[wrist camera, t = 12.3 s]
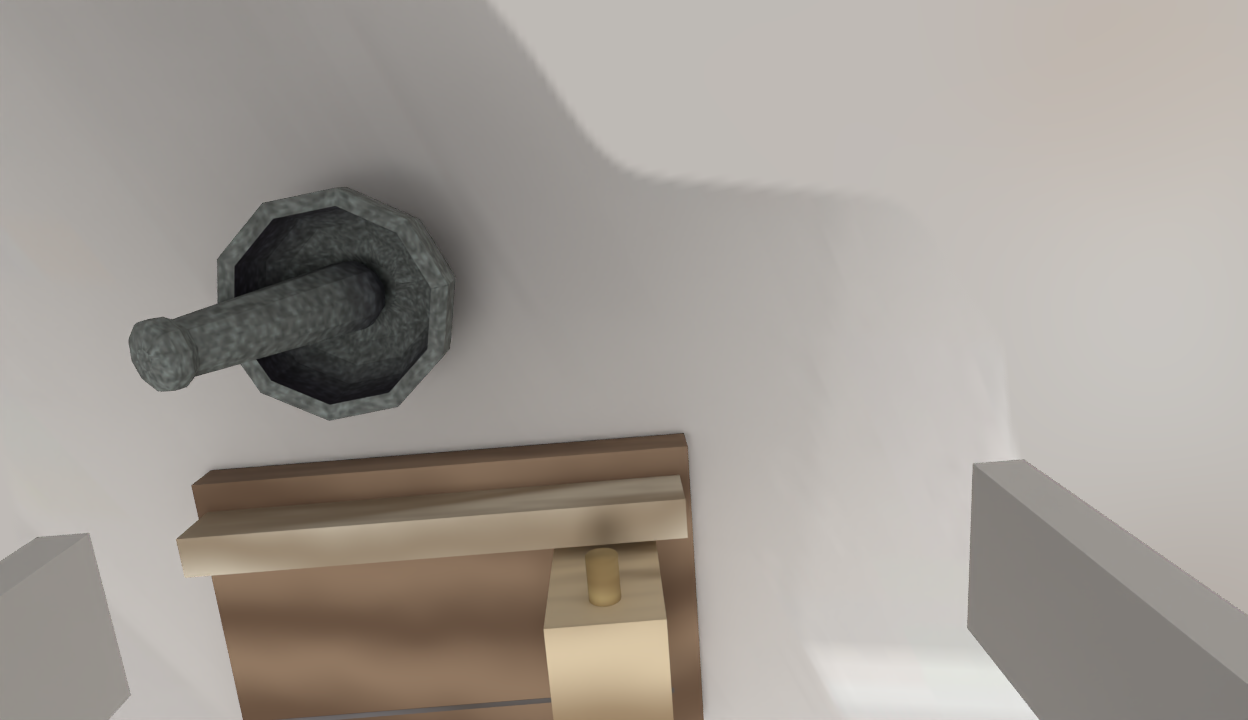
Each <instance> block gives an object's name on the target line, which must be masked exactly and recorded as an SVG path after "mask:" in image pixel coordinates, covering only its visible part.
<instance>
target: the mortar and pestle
mask: <svg viewBox="0 0 1248 720" xmlns="http://www.w3.org/2000/svg"><path fill="white" fill-rule="evenodd" d="M217 283H218V304H215V305H212V306H209V307H207V308H204V309H201V310H198V311H195V312H192V313H189V314H186V315H184V316H181V317H178V318H175V319H168V318H165V317H160V318H153V319H148V320H144V321H141V322H138V323H136V324H135V325H134V327H133V329H132V332H131V335H130V337H129V348H130V353H131V359H132V362H133V364H134V366H135V367H136V369H137V371H138V373H139V374H140V376H141V378H142V379H143V380H144V381H146V382H147V383H148V384H149V385H151V386H152V387H153V388H154V389H156V390H157V391H161V392H162V391H176V390H179V389H182V388H185V387H187V386H188V385H189V384H190V382H191V381H192V380H193V378H194V377H195V376H199V375H202V374H206V373H209V372H213V371H216V370H220V369H224V368H227V367H231V366H234V365H238V364H241V365H242V367H243V368H244V370H245V371H246V372H247V374H248V375H249V377H250V378H251V379H252V381H253V382H254V384H255V385H256V387H257V388H258V389H259V391H260V392H261V393H263V394H265V395H268V396H270V397H273V398H275V399H277V400H280V401H282V402H285V403H287V404H290V405H292V406H295V407H297V408H299V409H302V410H304V411H307V412H309V413H312V414H314V415H316V416H319V417H321V418H324V419H326V420H329V421H330V420H335V419H340V418H345V417H350V416H355V415H360V414H365V413H370V412H375V411H380V410H385V409H390V408H395V407H398V406H399V405H400V404H401V403H402V402H403V401H404V400H405V398H406V397H407V396H408V395H409V394H410V393H411V392H412V391H413V389H414V388H415V387H416V386H417V385H418V384H419V383H420V382H421V380H422V379H423V378H424V377H425V376H426V375H427V374H428V373H429V372H430V370H431V369H432V368H433V367H434V366H435V365H436V364H437V363H438V361H439V360H440V359H441V358H442V357H443V356H444V355H445V353H446V352H447V351H448V350H449V349H450V342H451V331H452V316H453V301H454V285H455V276H454V274H453V272H452V271H451V269H450V268H449V266H448V264H447V263H446V261H445V260H444V258H443V256H442V255H441V253H440V251H439V250H438V248H437V247H436V245H435V243H434V242H433V240H432V239H431V237H430V235H429V234H428V232H427V230H426V229H425V227H424V226H423V224H422V222H421V221H420V220H419V219H417V218H415V217H413V216H410V215H408V214H406V213H404V212H401V211H399V210H397V209H395V208H393V207H390V206H388V205H386V204H384V203H381V202H379V201H377V200H375V199H373V198H370V197H368V196H366V195H364V194H361V193H359V192H357V191H355V190H352V189H350V188H348V187H340V188H333V189H328V190H323V191H318V192H313V193H308V194H304V195H299V196H294V197H289V198H284V199H280V200H275V201H270V202H265V203H262V204H261V206H260V207H259V208H258V209H257V211H256V212H255V213H254V214H253V215H252V217H251V218H250V219H249V220H248V222H247V223H246V224H245V225H244V227H243V228H242V229H241V230H240V232H239V233H238V234H237V235H236V237H235V238H234V239H233V240H232V242H231V243H230V244H229V245H228V246H227V248H226V249H225V250H224V251H223V253H222V254H221V255H220V256H219V258H218V259H217Z"/></svg>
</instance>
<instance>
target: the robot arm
mask: <svg viewBox="0 0 1248 720" xmlns="http://www.w3.org/2000/svg"><path fill="white" fill-rule="evenodd" d="M967 628H968V630H969V631H970V632H971V633H972V635H973V636H974V637H975V638H976V640H977V641H978V642H979V644H980V645H981V646H982V647H983V649H984V650H985V651H986V652H987V654H988V655H989V656H990V657H991V659H992V660H993V661H994V663H995V664H996V665H997V666H998V668H999V669H1000V670H1001V671H1002V673H1003V674H1004V675H1005V677H1006V678H1007V679H1008V680H1009V682H1010V683H1011V684H1012V685H1013V687H1014V688H1015V689H1016V690H1017V692H1018V693H1019V694H1020V696H1021V697H1022V698H1023V699H1024V701H1025V702H1026V703H1027V704H1028V706H1029V707H1030V708H1031V710H1032V711H1033V712H1034V713H1035V715H1036V716H1037V717H1038V718H1039V720H1248V615H1247V614H1245V613H1244V612H1243V611H1241V610H1240V609H1238V608H1237V607H1235V606H1234V605H1232V604H1231V603H1230V602H1228V601H1227V600H1225V599H1224V598H1222V597H1221V596H1220V595H1218V594H1217V593H1215V592H1214V591H1212V590H1211V589H1210V588H1208V587H1207V586H1205V585H1204V584H1202V583H1201V582H1199V581H1198V580H1197V579H1195V578H1194V577H1192V576H1191V575H1189V574H1188V573H1187V572H1185V571H1184V570H1182V569H1181V568H1179V567H1178V566H1176V565H1175V564H1174V563H1172V562H1171V561H1169V560H1168V559H1166V558H1165V557H1163V556H1162V555H1161V554H1159V553H1158V552H1156V551H1155V550H1153V549H1152V548H1151V547H1149V546H1148V545H1146V544H1145V543H1143V542H1142V541H1140V540H1139V539H1138V538H1136V537H1135V536H1133V535H1132V534H1130V533H1129V532H1128V531H1126V530H1125V529H1123V528H1122V527H1120V526H1119V525H1118V524H1116V523H1115V522H1113V521H1112V520H1110V519H1109V518H1107V517H1106V516H1104V515H1103V514H1102V513H1100V512H1099V511H1097V510H1096V509H1094V508H1093V507H1092V506H1090V505H1089V504H1087V503H1086V502H1084V501H1083V500H1081V499H1080V498H1079V497H1077V496H1076V495H1074V494H1073V493H1071V492H1070V491H1069V490H1067V489H1066V488H1064V487H1063V486H1061V485H1060V484H1059V483H1057V482H1056V481H1054V480H1053V479H1051V478H1050V477H1049V476H1047V475H1045V474H1044V473H1043V472H1041V471H1040V470H1038V469H1037V468H1036V467H1034V466H1033V465H1031V464H1030V463H1028V462H1027V461H1026V460H1011V461H999V462H986V463H973V475H972V504H971V533H970V562H969V591H968V620H967ZM130 695H131V694H130V690H129V686H128V682H127V678H126V674H125V670H124V666H123V663H122V659H121V655H120V651H119V647H118V643H117V639H116V635H115V632H114V628H113V624H112V620H111V616H110V612H109V608H108V604H107V601H106V597H105V593H104V589H103V585H102V581H101V577H100V573H99V570H98V566H97V562H96V558H95V554H94V550H93V546H92V542H91V539H90V535H89V533H84V534H72V535H59V536H46V537H37V538H35V539H34V540H32V541H31V542H29V543H28V544H26V545H24V546H23V547H21V548H20V549H18V550H17V551H15V552H14V553H12V554H11V555H9V556H8V557H6V558H5V559H3V560H1V561H0V720H109V719H110V718H111V716H112V715H113V714H114V713H115V712H116V711H117V710H118V709H119V708H120V706H121V705H122V704H123V703H124V702H125V701H126V700H127V699H128V698H129V696H130Z"/></svg>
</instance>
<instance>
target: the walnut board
mask: <svg viewBox="0 0 1248 720" xmlns="http://www.w3.org/2000/svg"><path fill="white" fill-rule="evenodd" d="M191 486H192V490H193V495H194V499H195V504H196V508H197V513H198V517H199V520H198V521H197V522H195V523H194V524H193V525H192V526H191V527H190V528H189V529H187V530H186V531H185V532H184V533H183V534H182V535H180V536H179V537H178V538H177V539H176V541H177V546H178V550H179V554H180V559H181V563H182V567H183V572H184V576H185V578H188V577H201V576H212V581H213V585H214V590H215V594H216V599H217V604H218V608H219V613H220V617H221V622H222V626H223V631H224V635H225V640H226V644H227V649H228V653H229V658H230V662H231V667H232V672H233V676H234V681H235V685H236V690H237V694H238V699H239V703H240V708H241V712H242V717H243V720H553V711H552V702H551V693H550V684H549V675H548V666H547V657H546V648H545V639H544V630H543V629H544V621H545V614H546V606H547V599H548V591H549V583H550V576H551V568H552V561H553V553H554V548H566V547H579V546H591V545H604V544H617V543H629V542H642V541H654V540H656V545H657V553H658V560H659V567H660V574H661V582H662V589H663V596H664V603H665V611H666V618H667V631H668V645H669V660H670V674H671V689H672V704H673V718H674V720H704V718H703V701H702V684H701V666H700V649H699V632H698V615H697V598H696V580H695V563H694V546H693V529H692V512H691V494H690V477H689V460H688V446H687V442H686V439H685V436H684V433H682V434H669V435H656V436H644V437H631V438H618V439H605V440H593V441H580V442H567V443H555V444H542V445H529V446H516V447H504V448H491V449H478V450H465V451H453V452H440V453H427V454H415V455H402V456H389V457H376V458H364V459H351V460H338V461H325V462H313V463H300V464H287V465H275V466H262V467H249V468H236V469H224V470H211V471H210V472H208V473H207V474H206V475H204V476H203V477H202V478H200V479H199V480H198V481H197V482H195V483H194V484H193V485H191Z"/></svg>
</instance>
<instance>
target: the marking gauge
mask: <svg viewBox="0 0 1248 720" xmlns="http://www.w3.org/2000/svg"><path fill="white" fill-rule="evenodd" d="M543 630H544V639H545V648H546V657H547V666H548V675H549V684H550V693H551V702H552V711H553V720H674V718H673V704H672V689H671V674H670V660H669V645H668V631H667V618H666V611H665V603H664V596H663V589H662V582H661V574H660V567H659V560H658V553H657V545H656V540H654V541H642V542H629V543H617V544H604V545H591V546H579V547H566V548H554V553H553V561H552V568H551V576H550V583H549V591H548V599H547V606H546V614H545V621H544V629H543Z"/></svg>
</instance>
